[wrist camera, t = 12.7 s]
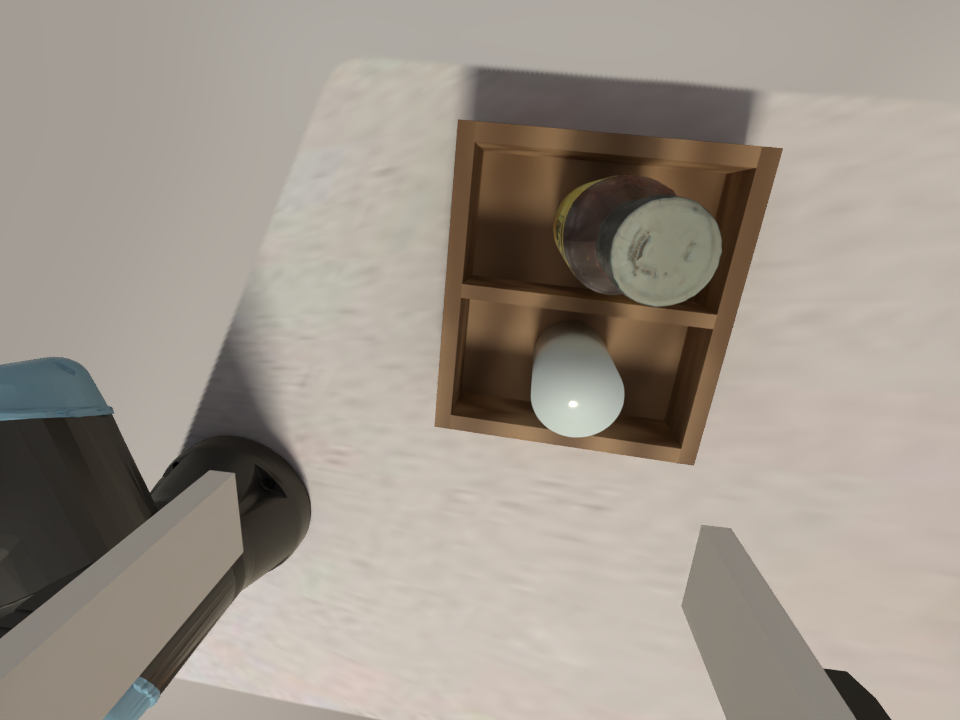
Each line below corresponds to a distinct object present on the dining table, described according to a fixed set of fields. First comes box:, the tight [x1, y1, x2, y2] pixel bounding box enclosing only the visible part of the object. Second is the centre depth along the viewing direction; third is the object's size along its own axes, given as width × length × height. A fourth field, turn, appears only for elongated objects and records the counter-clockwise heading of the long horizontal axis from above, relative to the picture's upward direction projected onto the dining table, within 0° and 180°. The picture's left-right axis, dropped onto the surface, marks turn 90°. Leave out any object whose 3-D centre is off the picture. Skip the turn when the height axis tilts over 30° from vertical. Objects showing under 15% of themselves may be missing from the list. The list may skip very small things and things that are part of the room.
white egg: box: [531, 321, 624, 437], centre depth 35 cm, size 6×6×9 cm
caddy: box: [435, 120, 783, 465], centre depth 35 cm, size 20×22×6 cm
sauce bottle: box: [553, 175, 722, 307], centre depth 26 cm, size 7×6×20 cm
